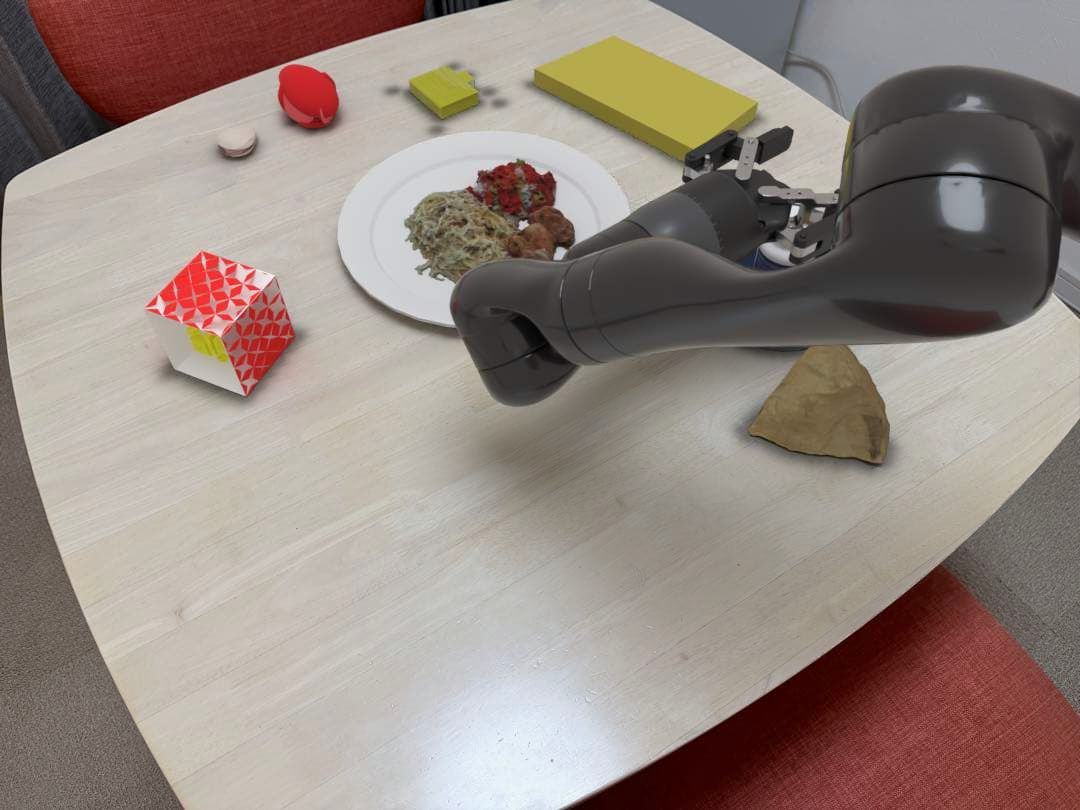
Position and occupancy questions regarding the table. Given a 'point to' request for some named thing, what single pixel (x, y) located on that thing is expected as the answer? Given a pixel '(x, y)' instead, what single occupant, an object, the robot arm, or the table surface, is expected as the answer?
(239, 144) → the macaroon
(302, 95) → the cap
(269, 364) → the red patterned cube
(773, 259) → the pill bottle
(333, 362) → the table surface
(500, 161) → the plated food
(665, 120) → the flat olive board
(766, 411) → the rock
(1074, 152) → the robot arm
